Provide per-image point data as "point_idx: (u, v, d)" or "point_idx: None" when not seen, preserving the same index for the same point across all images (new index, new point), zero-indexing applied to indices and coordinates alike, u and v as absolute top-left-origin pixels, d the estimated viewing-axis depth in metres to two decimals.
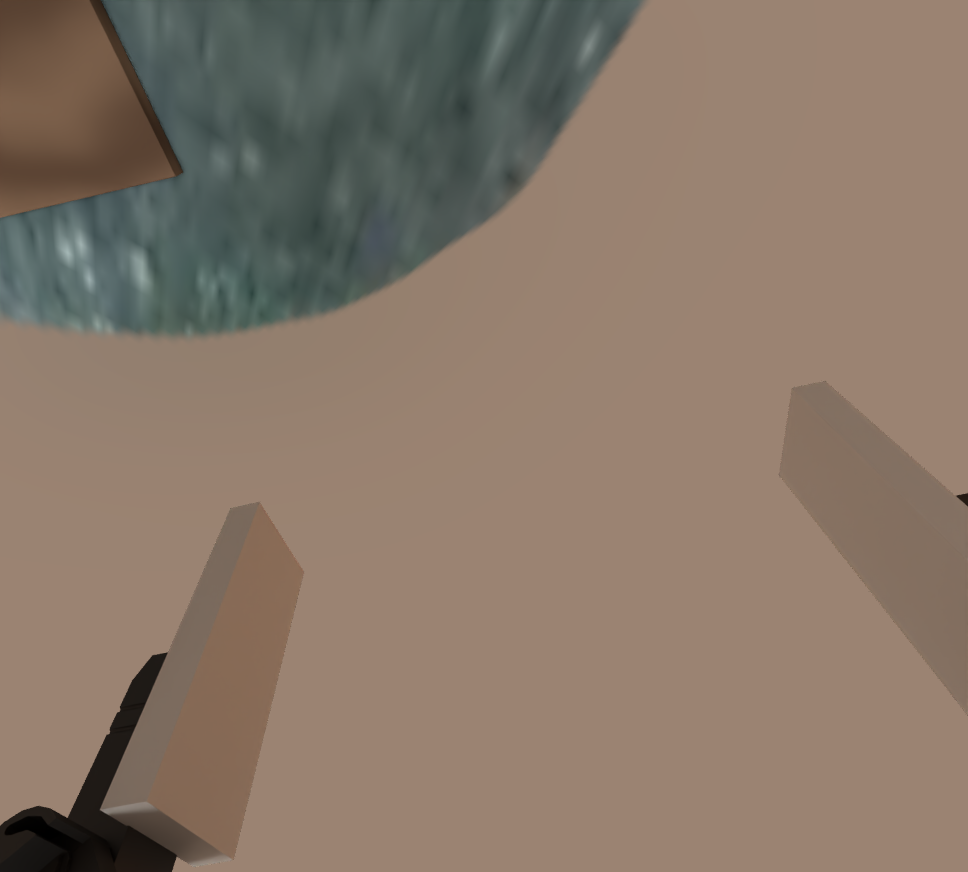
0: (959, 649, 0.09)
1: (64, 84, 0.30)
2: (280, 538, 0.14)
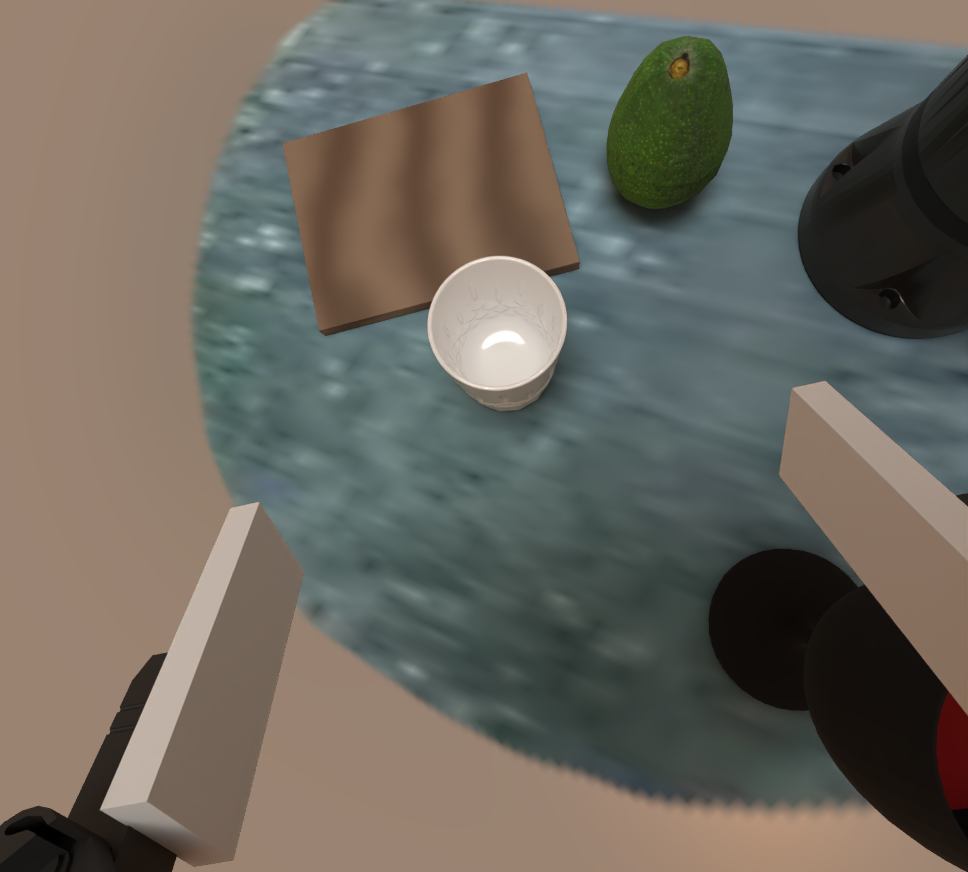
0: (959, 649, 0.09)
1: (379, 269, 0.41)
2: (280, 538, 0.14)
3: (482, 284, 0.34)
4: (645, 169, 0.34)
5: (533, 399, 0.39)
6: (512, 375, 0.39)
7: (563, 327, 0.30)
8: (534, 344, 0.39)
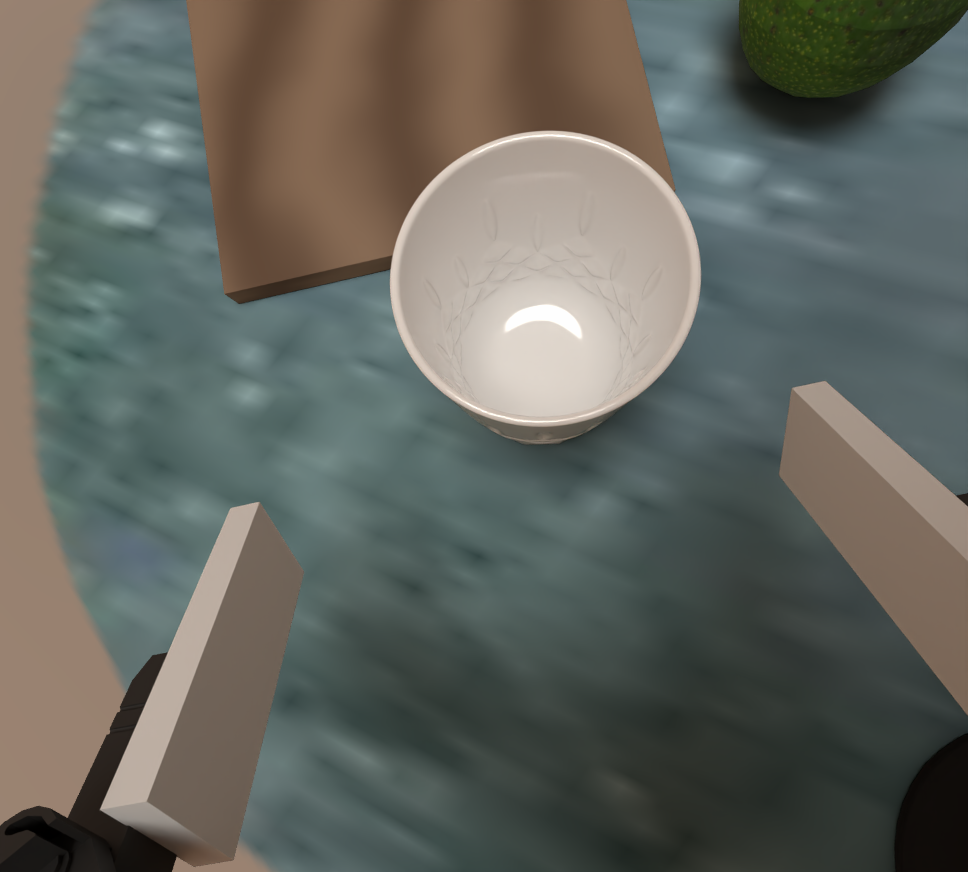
0: (959, 649, 0.09)
1: (330, 194, 0.24)
2: (280, 538, 0.14)
3: (509, 204, 0.17)
4: None
5: None
6: (552, 384, 0.22)
7: (692, 290, 0.13)
8: (593, 331, 0.22)
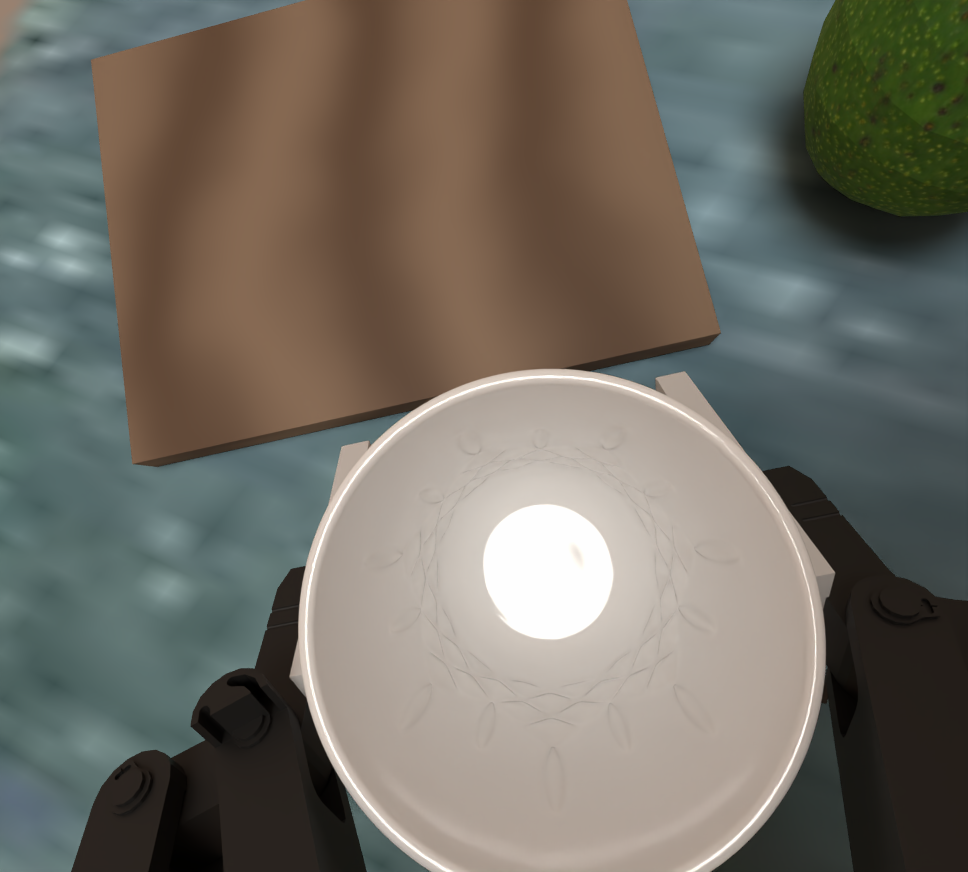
0: None
1: (269, 332, 0.19)
2: None
3: (498, 428, 0.11)
4: None
5: None
6: (561, 605, 0.16)
7: (813, 669, 0.08)
8: (617, 533, 0.16)
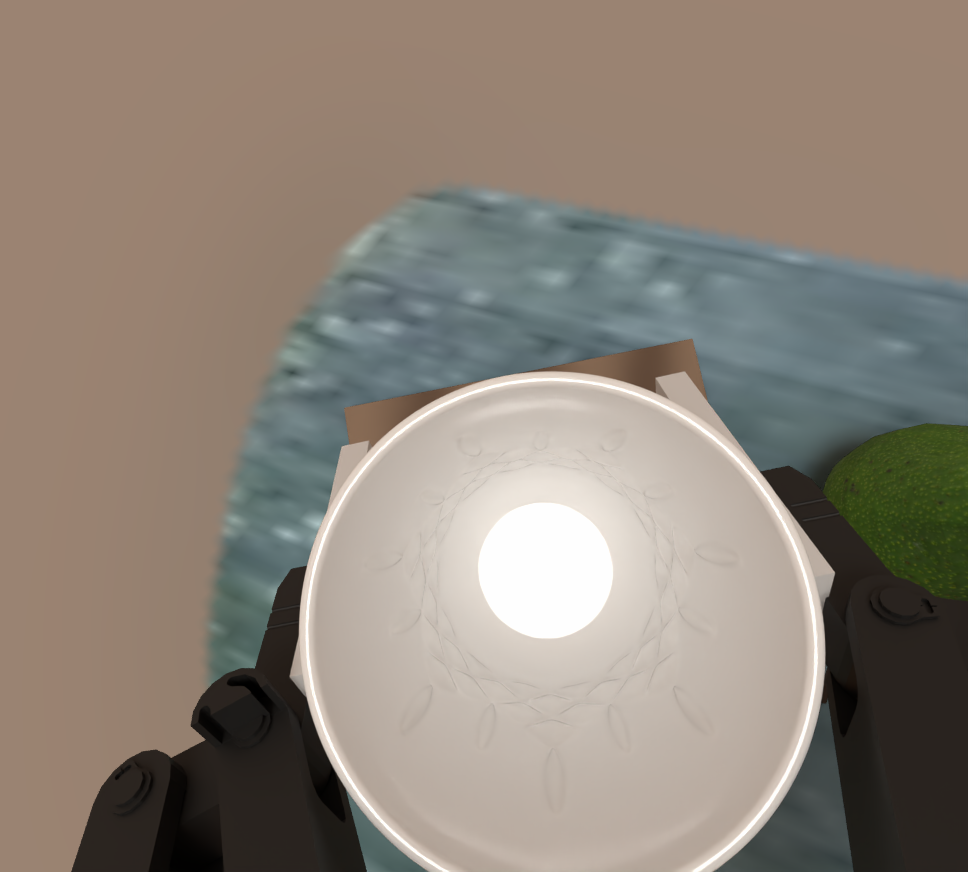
0: None
1: None
2: None
3: (498, 430, 0.11)
4: None
5: None
6: (561, 607, 0.16)
7: (812, 672, 0.08)
8: (617, 535, 0.16)
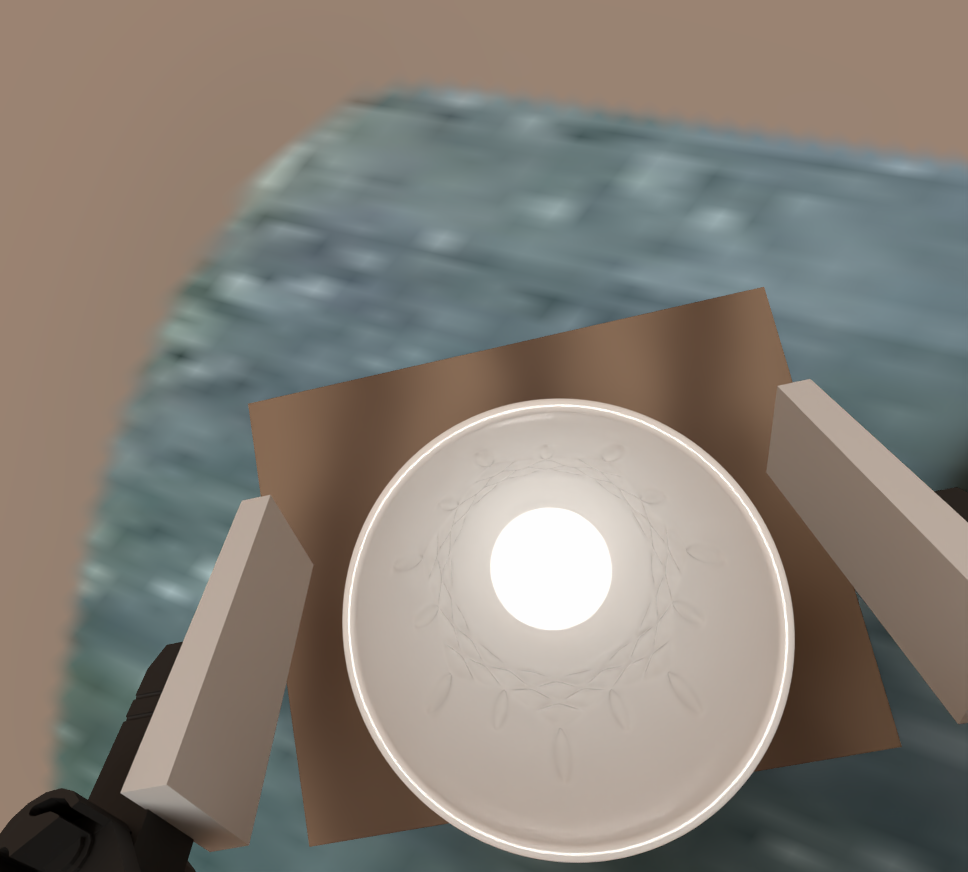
0: (935, 641, 0.09)
1: None
2: (291, 531, 0.14)
3: (509, 445, 0.13)
4: None
5: None
6: (565, 601, 0.18)
7: (783, 655, 0.09)
8: (616, 535, 0.17)
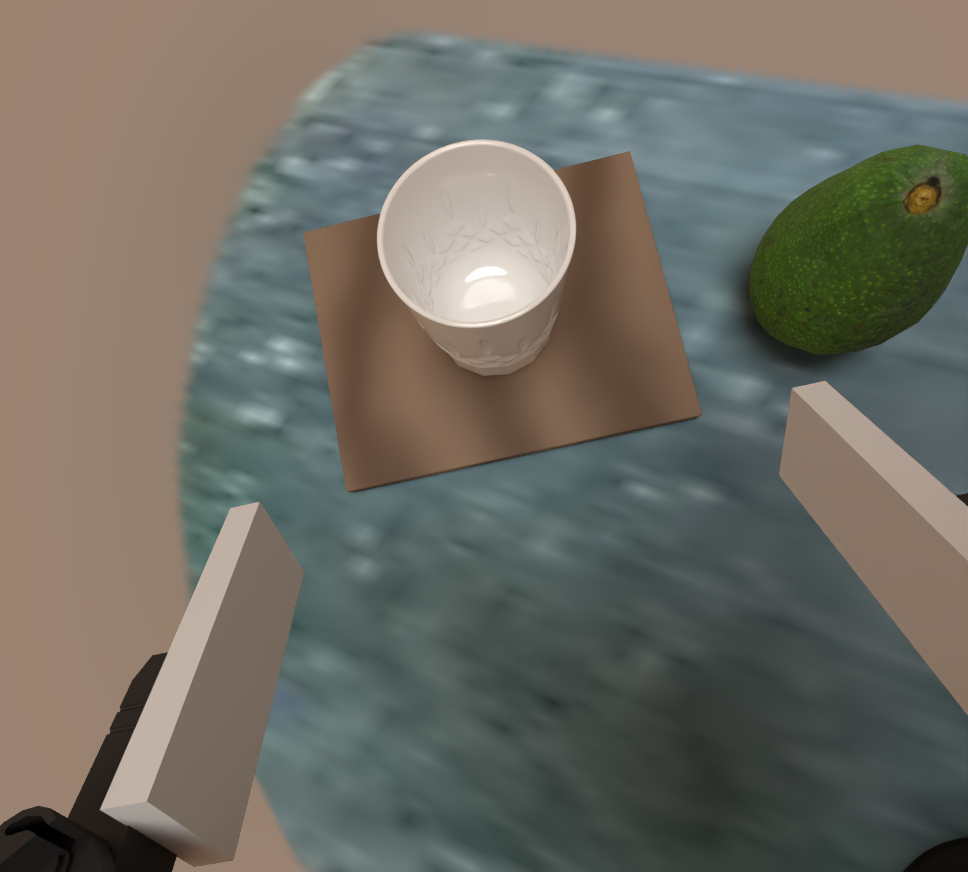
0: (959, 649, 0.09)
1: (428, 411, 0.31)
2: (280, 538, 0.14)
3: (459, 190, 0.25)
4: (827, 319, 0.24)
5: (528, 359, 0.29)
6: None
7: (570, 238, 0.21)
8: (530, 286, 0.29)
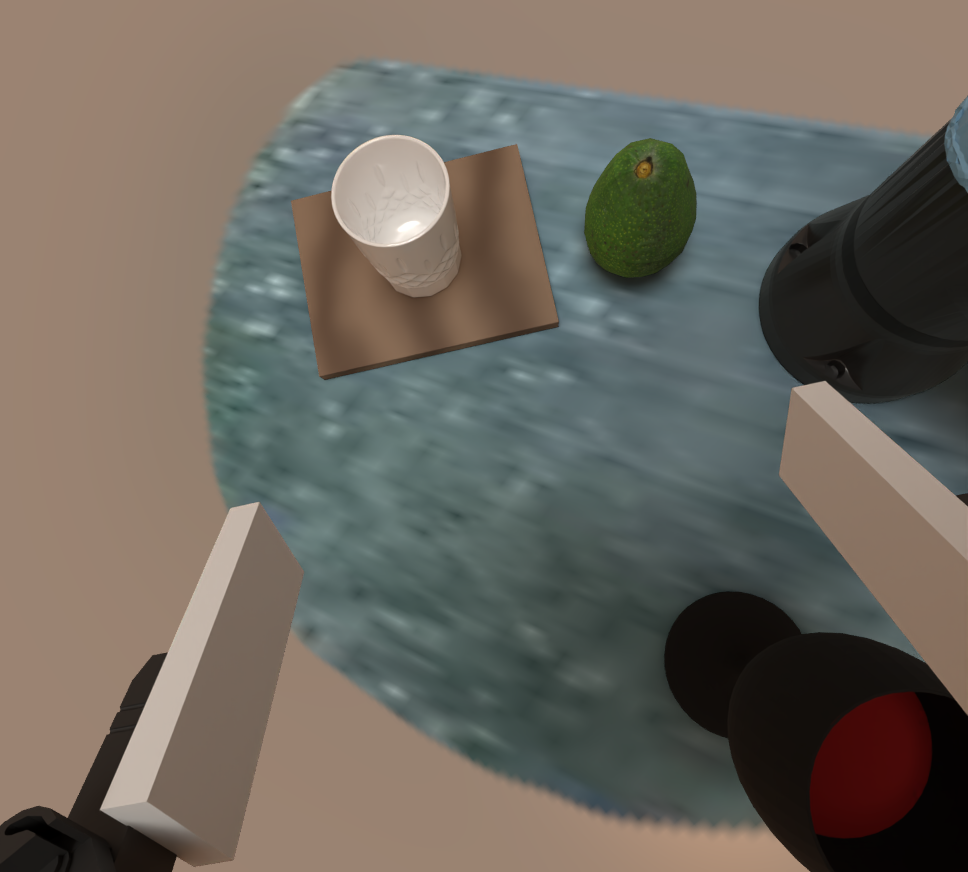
0: (959, 649, 0.09)
1: (375, 322, 0.45)
2: (280, 538, 0.14)
3: (386, 167, 0.39)
4: (616, 248, 0.38)
5: (441, 283, 0.44)
6: None
7: (446, 194, 0.35)
8: None
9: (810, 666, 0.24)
